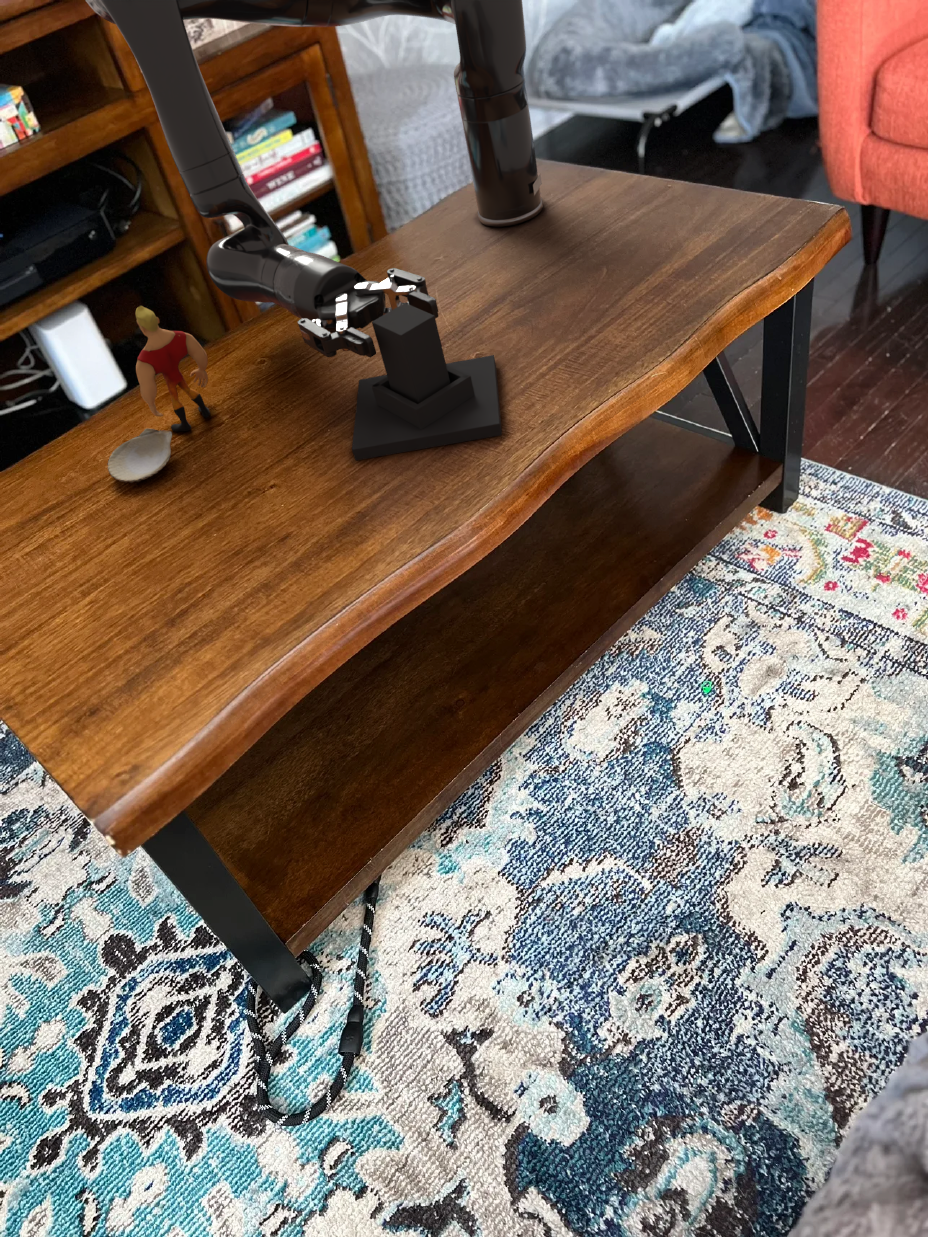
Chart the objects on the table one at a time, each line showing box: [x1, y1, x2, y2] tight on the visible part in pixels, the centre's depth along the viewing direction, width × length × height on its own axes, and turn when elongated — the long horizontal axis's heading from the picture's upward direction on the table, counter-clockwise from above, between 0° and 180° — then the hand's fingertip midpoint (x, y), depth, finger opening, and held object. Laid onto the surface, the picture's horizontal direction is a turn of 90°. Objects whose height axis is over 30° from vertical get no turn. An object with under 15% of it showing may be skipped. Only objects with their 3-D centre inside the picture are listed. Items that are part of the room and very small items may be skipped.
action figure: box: [135, 305, 211, 432], centre depth 110 cm, size 10×4×15 cm, turn 139°
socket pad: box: [351, 354, 503, 461], centre depth 106 cm, size 14×16×4 cm
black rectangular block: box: [371, 302, 450, 404], centre depth 103 cm, size 5×4×10 cm
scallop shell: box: [106, 428, 173, 483], centre depth 109 cm, size 8×3×8 cm
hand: (403, 328), depth 101 cm, fingers open, 8 cm apart
